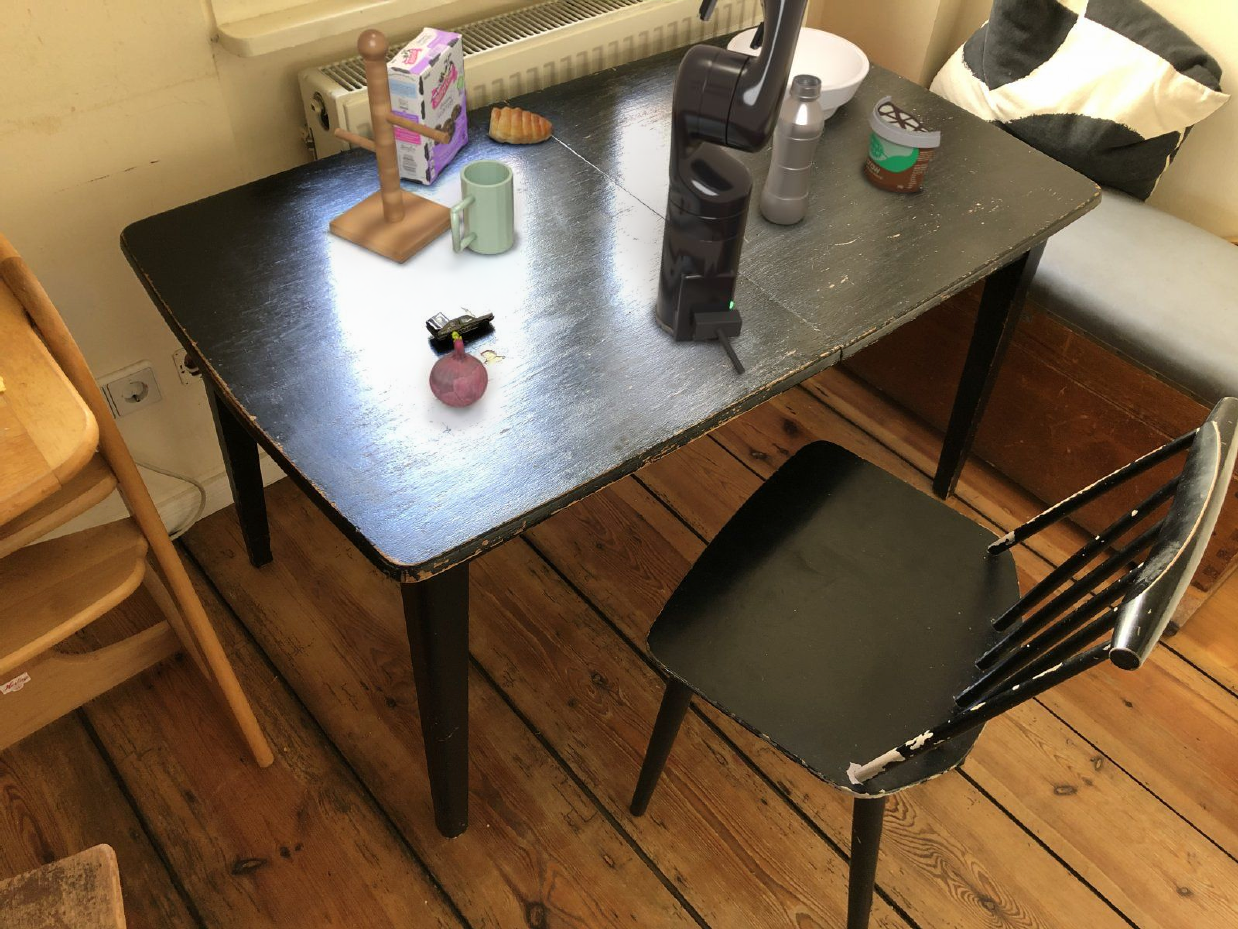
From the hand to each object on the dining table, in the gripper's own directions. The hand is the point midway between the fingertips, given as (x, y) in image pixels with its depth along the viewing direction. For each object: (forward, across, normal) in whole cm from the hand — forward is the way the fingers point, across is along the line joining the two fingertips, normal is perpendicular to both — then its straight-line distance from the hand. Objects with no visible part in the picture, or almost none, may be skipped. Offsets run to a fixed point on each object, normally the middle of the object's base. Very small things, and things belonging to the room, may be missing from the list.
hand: (728, 34), depth 143 cm
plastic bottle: (+16, +21, -8) cm, 28 cm away
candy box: (+31, -26, -22) cm, 46 cm away
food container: (+9, +28, +10) cm, 31 cm away
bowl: (+9, +7, +22) cm, 25 cm away
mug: (+31, -7, -36) cm, 48 cm away
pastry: (+26, -21, -10) cm, 35 cm away
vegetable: (+36, +10, -60) cm, 71 cm away
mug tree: (+34, -19, -38) cm, 55 cm away
